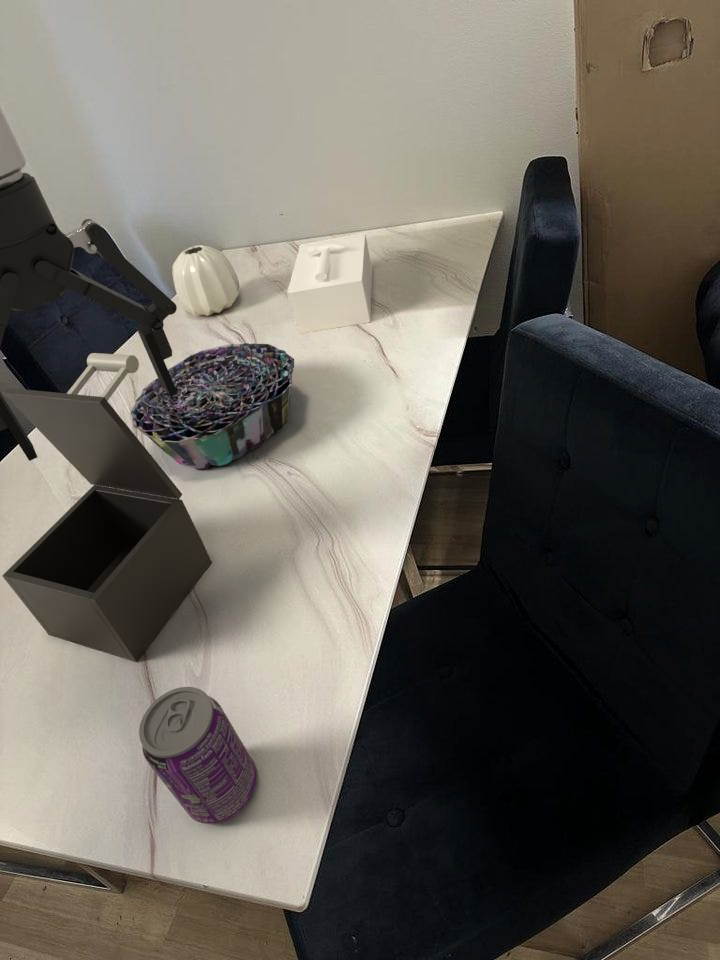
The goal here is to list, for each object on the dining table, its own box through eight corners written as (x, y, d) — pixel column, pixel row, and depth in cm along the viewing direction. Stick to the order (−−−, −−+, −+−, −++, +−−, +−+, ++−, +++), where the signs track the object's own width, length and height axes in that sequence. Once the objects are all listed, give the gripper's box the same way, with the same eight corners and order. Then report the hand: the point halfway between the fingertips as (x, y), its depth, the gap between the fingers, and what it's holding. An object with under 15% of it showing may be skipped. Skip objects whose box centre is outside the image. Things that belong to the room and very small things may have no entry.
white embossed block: (372, 270, 148) (363, 221, 141) (370, 322, 129) (359, 268, 122) (309, 281, 150) (297, 234, 144) (298, 334, 131) (283, 281, 124)
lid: (99, 402, 66) (149, 335, 71) (2, 393, 72) (54, 331, 77) (179, 499, 78) (216, 436, 83) (90, 484, 84) (130, 426, 89)
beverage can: (194, 753, 65) (147, 684, 58) (264, 749, 64) (225, 678, 57) (176, 829, 60) (121, 764, 52) (252, 825, 59) (207, 758, 51)
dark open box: (137, 662, 75) (95, 601, 68) (48, 635, 81) (1, 575, 74) (212, 561, 86) (182, 499, 79) (128, 543, 92) (94, 484, 85)
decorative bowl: (338, 406, 111) (328, 352, 106) (227, 501, 94) (207, 442, 88) (229, 383, 125) (214, 334, 119) (114, 462, 108) (90, 409, 102)
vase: (185, 303, 155) (163, 247, 146) (242, 288, 155) (224, 231, 147) (183, 328, 144) (160, 269, 136) (245, 312, 144) (226, 252, 136)
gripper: (-212, 255, 42) (-29, 502, 55) (152, 139, 50) (237, 379, 63) (-202, 233, 48) (-37, 462, 61) (125, 130, 55) (208, 353, 69)
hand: (103, 420), depth 62 cm, fingers open, 13 cm apart
